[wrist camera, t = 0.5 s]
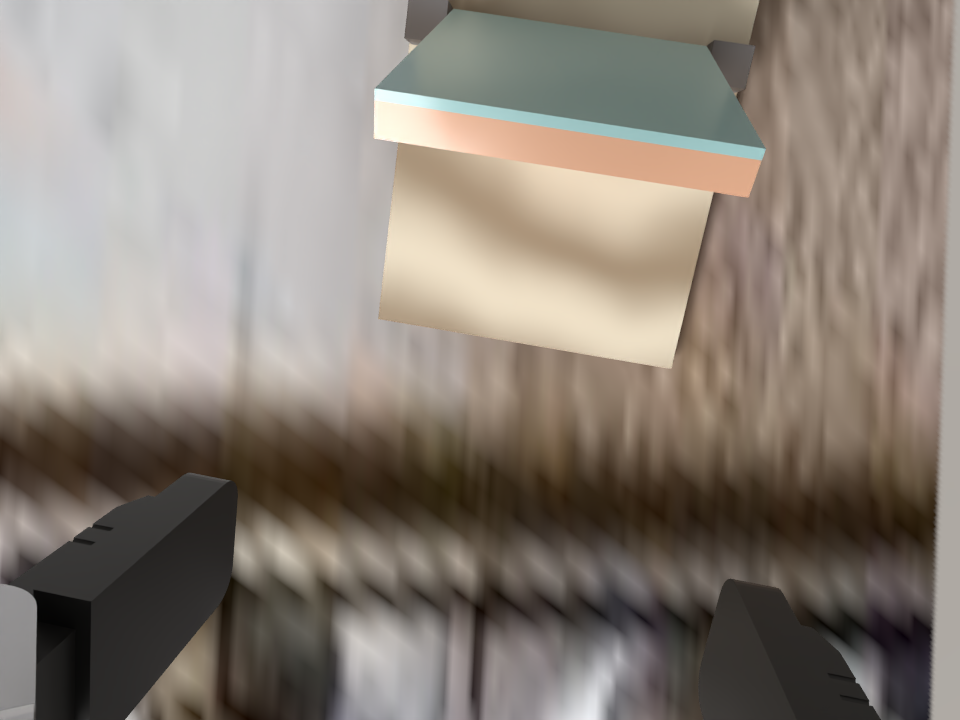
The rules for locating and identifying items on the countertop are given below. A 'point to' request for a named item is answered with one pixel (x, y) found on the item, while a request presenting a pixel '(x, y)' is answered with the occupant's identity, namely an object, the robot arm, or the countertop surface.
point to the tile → (571, 102)
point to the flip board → (555, 213)
